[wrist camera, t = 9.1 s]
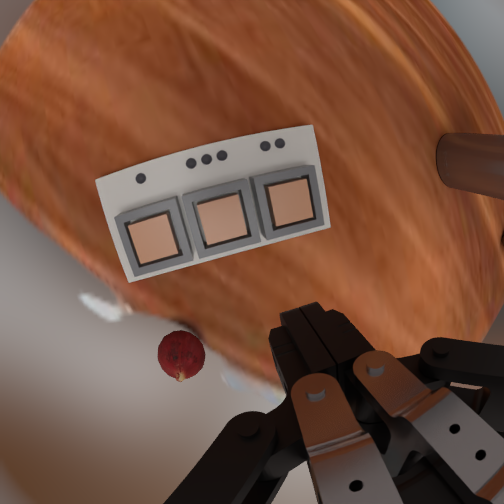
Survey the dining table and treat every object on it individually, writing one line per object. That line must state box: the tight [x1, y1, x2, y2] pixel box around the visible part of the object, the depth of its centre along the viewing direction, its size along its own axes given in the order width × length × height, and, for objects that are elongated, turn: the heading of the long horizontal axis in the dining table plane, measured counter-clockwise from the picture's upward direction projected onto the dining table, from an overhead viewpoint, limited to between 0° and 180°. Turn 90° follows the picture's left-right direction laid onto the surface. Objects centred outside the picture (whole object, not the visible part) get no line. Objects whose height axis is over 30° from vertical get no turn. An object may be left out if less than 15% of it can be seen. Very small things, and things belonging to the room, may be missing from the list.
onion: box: [158, 330, 205, 382], centre depth 31 cm, size 6×6×8 cm
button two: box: [264, 178, 313, 226], centre depth 28 cm, size 4×4×2 cm
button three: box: [197, 193, 247, 245], centre depth 28 cm, size 4×4×2 cm
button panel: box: [95, 125, 331, 283], centre depth 28 cm, size 24×12×4 cm, turn 102°
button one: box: [128, 211, 179, 264], centre depth 27 cm, size 4×4×2 cm
